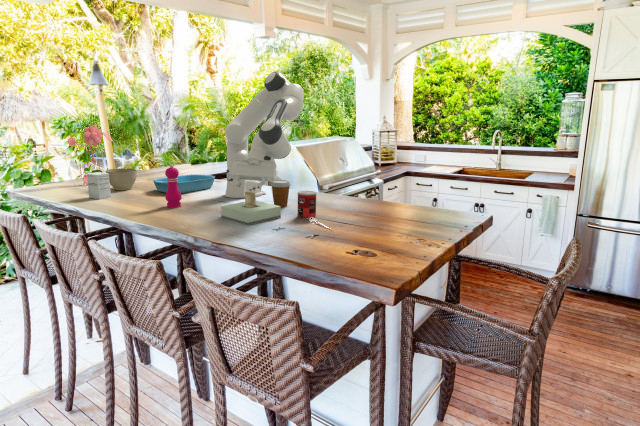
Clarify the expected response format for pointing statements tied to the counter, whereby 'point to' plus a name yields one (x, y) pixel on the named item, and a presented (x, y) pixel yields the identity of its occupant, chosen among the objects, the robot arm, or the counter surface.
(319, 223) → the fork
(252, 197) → the birch peg
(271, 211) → the socket block
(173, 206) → the pepper mill
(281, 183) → the disposable coffee cup
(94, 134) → the red flower plant
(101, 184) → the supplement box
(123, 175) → the planter bowl
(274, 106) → the robot arm
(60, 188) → the counter surface
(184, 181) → the casserole dish
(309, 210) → the canned food
